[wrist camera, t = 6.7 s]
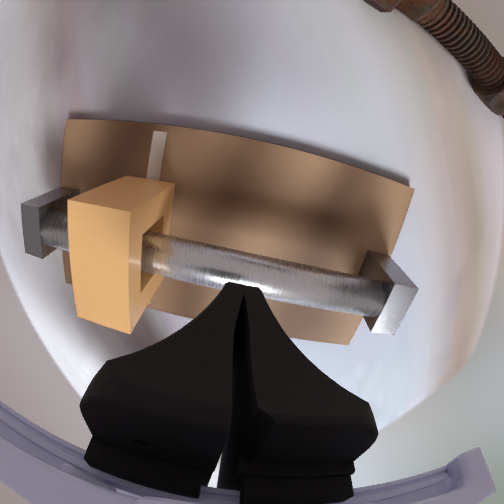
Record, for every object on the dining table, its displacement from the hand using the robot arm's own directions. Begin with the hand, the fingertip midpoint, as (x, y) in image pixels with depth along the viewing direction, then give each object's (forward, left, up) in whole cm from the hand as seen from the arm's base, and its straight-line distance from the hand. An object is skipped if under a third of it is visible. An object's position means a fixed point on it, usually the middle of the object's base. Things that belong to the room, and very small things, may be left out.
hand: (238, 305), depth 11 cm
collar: (0, +6, -5) cm, 8 cm away
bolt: (+17, -11, -7) cm, 21 cm away
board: (0, +2, -6) cm, 7 cm away
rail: (0, +2, -6) cm, 7 cm away
